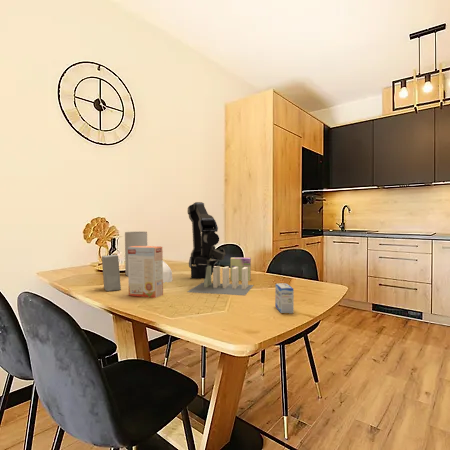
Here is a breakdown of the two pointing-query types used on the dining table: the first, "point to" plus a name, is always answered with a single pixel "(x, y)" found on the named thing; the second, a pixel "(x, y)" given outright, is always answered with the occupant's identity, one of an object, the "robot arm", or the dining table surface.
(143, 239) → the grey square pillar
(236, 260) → the box
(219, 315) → the dining table surface
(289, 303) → the medicine box
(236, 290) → the mat
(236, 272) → the domino
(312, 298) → the dining table surface
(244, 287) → the domino
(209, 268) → the domino
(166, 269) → the teardrop
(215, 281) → the domino
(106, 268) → the skincare box
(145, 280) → the cracker box
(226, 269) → the domino
